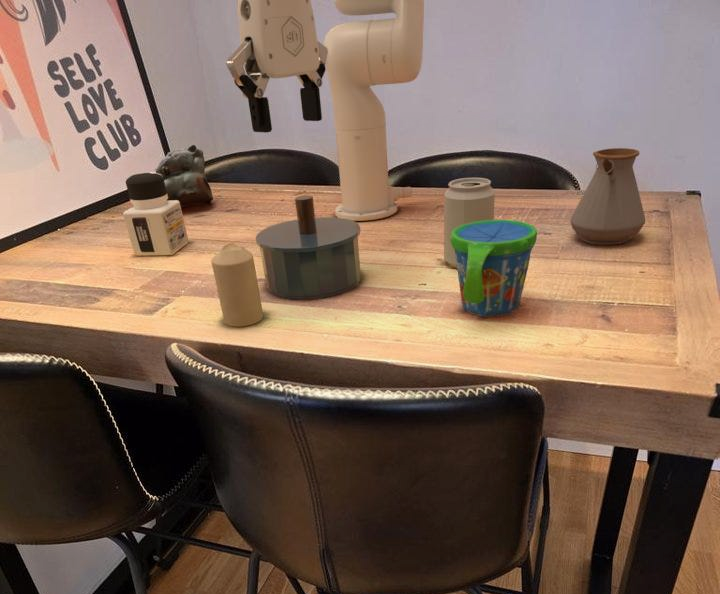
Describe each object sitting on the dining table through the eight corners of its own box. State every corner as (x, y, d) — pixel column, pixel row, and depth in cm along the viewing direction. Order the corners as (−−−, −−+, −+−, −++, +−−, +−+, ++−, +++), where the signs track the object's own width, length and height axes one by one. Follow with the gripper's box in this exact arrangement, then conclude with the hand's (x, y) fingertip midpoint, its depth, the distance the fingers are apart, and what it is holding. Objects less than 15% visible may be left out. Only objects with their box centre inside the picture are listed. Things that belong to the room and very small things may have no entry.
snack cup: (478, 283, 94) (481, 210, 88) (549, 293, 89) (556, 216, 83) (428, 323, 84) (426, 244, 78) (504, 337, 79) (509, 253, 73)
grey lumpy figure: (141, 214, 144) (129, 149, 142) (181, 222, 154) (171, 161, 152) (188, 195, 136) (177, 126, 134) (227, 205, 146) (217, 141, 144)
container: (172, 255, 117) (153, 178, 110) (133, 256, 119) (112, 180, 111) (189, 242, 123) (172, 168, 116) (152, 243, 125) (133, 170, 117)
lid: (341, 219, 104) (337, 179, 101) (376, 244, 92) (373, 199, 89) (247, 236, 101) (240, 195, 97) (270, 264, 89) (263, 218, 85)
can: (495, 255, 104) (499, 174, 97) (487, 271, 98) (490, 187, 91) (449, 254, 106) (450, 175, 99) (438, 269, 100) (438, 187, 93)
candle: (226, 313, 93) (211, 242, 87) (264, 309, 93) (251, 238, 87) (222, 329, 88) (206, 255, 82) (262, 324, 88) (249, 250, 82)
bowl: (343, 260, 108) (339, 216, 104) (374, 287, 96) (371, 239, 92) (258, 277, 104) (250, 232, 100) (280, 306, 93) (272, 258, 89)
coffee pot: (574, 226, 113) (586, 130, 104) (645, 229, 109) (663, 129, 100) (550, 267, 98) (561, 158, 89) (631, 272, 93) (651, 158, 84)
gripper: (235, -34, 72) (260, 137, 82) (338, -36, 82) (349, 117, 92) (194, -27, 76) (222, 135, 86) (297, -30, 87) (312, 116, 97)
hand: (288, 126), depth 89 cm, fingers open, 9 cm apart
